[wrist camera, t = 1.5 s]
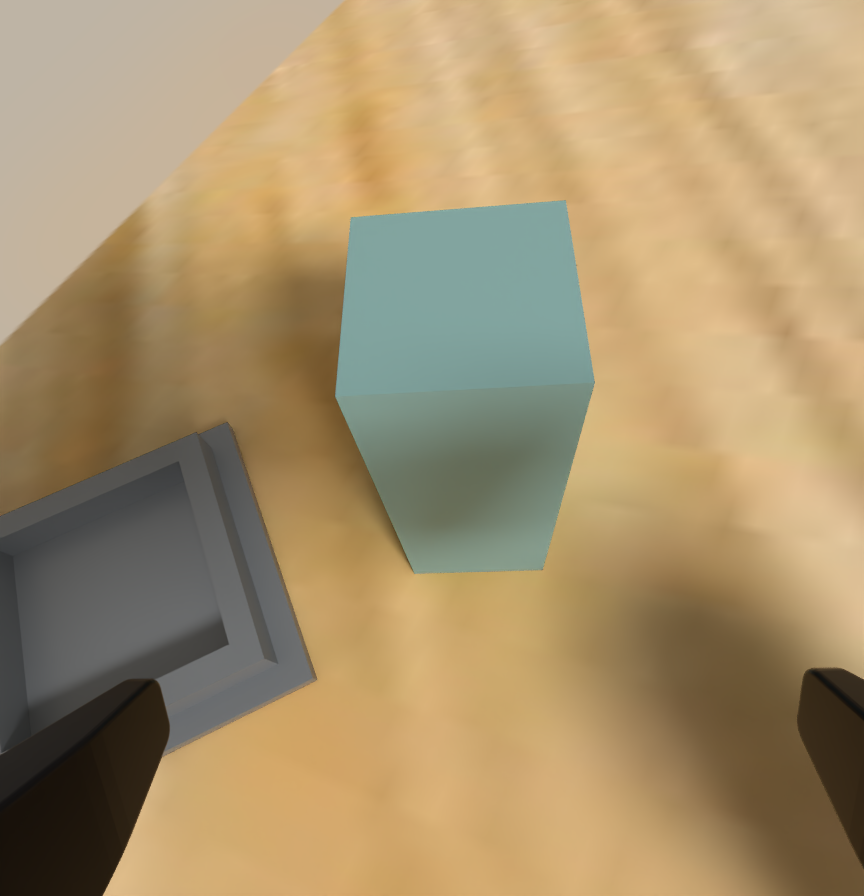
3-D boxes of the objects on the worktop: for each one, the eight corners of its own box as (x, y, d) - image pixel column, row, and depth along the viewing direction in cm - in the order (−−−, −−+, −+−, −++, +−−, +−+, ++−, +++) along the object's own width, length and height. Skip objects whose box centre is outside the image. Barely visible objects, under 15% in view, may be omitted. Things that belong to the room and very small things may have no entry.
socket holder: (317, 680, 21) (300, 673, 19) (-7, 840, 20) (-58, 849, 18) (232, 428, 27) (212, 404, 25) (-27, 539, 25) (-68, 523, 23)
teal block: (542, 569, 22) (594, 382, 11) (414, 573, 23) (335, 396, 11) (531, 454, 25) (565, 200, 13) (415, 460, 25) (351, 217, 14)
